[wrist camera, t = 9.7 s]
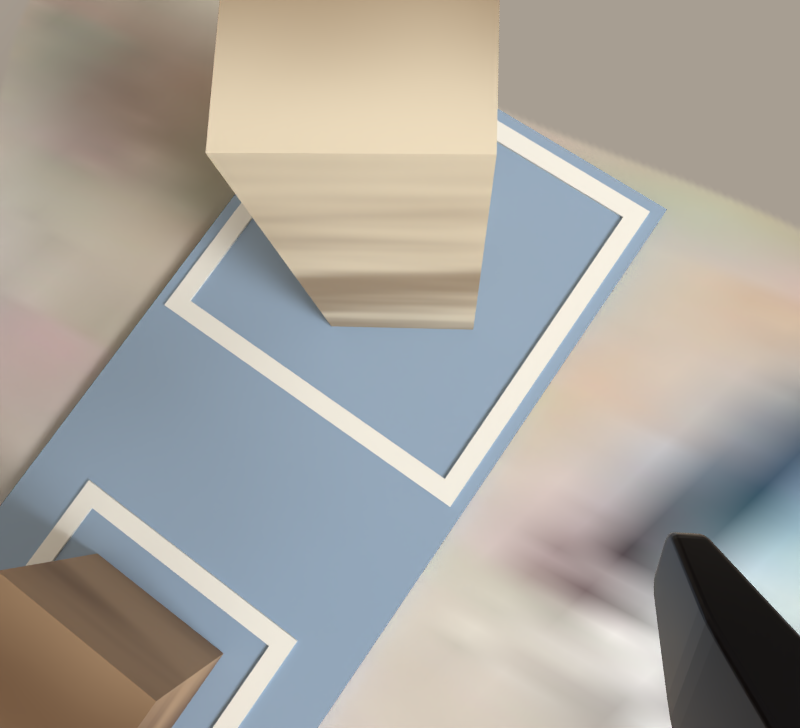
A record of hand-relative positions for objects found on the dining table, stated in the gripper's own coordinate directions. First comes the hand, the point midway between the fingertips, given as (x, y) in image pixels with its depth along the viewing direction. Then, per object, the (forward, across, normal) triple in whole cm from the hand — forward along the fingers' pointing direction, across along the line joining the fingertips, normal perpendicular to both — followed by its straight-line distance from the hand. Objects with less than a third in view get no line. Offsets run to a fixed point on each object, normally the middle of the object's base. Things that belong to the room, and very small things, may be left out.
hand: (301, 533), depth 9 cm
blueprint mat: (+11, +3, +8) cm, 14 cm away
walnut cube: (+6, +8, +13) cm, 16 cm away
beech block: (+15, 0, +4) cm, 15 cm away
